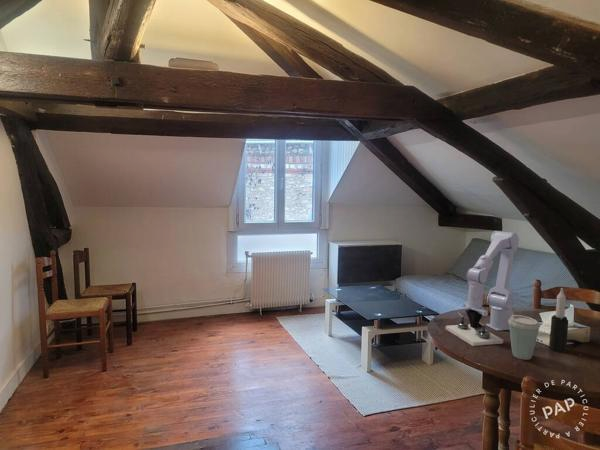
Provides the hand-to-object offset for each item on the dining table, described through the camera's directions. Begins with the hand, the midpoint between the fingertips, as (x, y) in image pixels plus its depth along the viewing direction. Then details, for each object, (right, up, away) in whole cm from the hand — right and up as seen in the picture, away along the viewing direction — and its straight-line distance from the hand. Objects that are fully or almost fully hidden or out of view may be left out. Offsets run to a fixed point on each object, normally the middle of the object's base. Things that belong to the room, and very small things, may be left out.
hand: (473, 327), depth 178 cm
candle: (+28, -6, -13) cm, 31 cm away
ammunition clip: (+20, -1, +31) cm, 37 cm away
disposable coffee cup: (+10, -6, -20) cm, 23 cm away
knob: (-2, -1, +10) cm, 10 cm away
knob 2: (+2, -3, -2) cm, 4 cm away
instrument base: (0, -4, +1) cm, 4 cm away
